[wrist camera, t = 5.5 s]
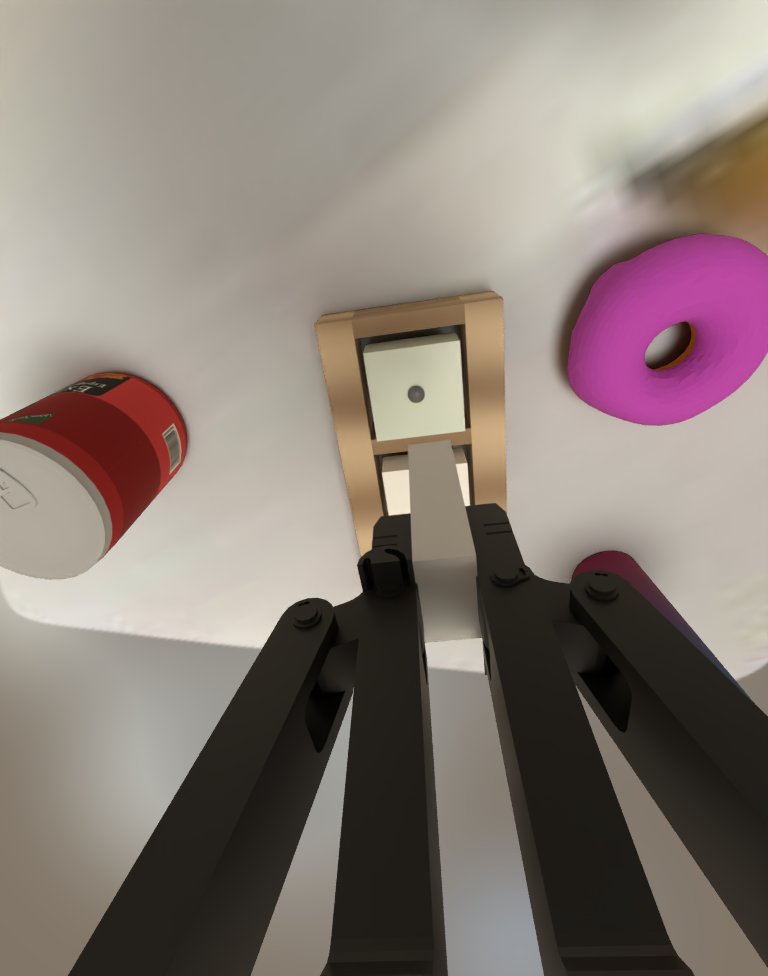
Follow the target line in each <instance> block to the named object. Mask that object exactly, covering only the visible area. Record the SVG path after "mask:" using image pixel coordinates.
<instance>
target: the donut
mask: <svg viewBox="0 0 768 976" xmlns="http://www.w3.org/2000/svg"><path fill="white" fill-rule="evenodd" d="M685 321H686V322H687V323H688V324H689V326H690V329H691V340H690V343H689V345H688V347H687V349H686V350H685V352H684V353H682V354H681V355H680V356H679V357H678V358H677V359H676V360H674V361H673V362H671V363H669V364H668V365H666V366H663V367H660V368H658V369H650V368H648V367H647V366H646V363H645V352H646V350H647V348H648V346H649V345H650V343H651V342H652V340H653V339H654V338H655V337H656V336H657V335H658V334H659V333H661V332H662V331H663V330H665V329H667V328H668V327H670V326H672V325H674V324H677V323H680V322H685ZM767 353H768V256H767V255H766V254H765V253H764V252H762V251H761V250H760V249H759V248H757V247H756V246H754V245H752V244H751V243H749V242H747V241H744V240H742V239H739V238H735V237H730V236H720V235H709V234H695V235H690V236H685V237H681V238H677V239H674V240H671V241H668V242H665V243H662V244H660V245H658V246H656V247H653V248H651V249H649V250H647V251H645V252H644V253H642V254H640V255H638V256H636V257H635V258H633V259H631V260H629V261H625V262H621V263H617V264H615V265H613V266H612V267H611V268H609V269H608V270H607V271H606V272H605V273H604V274H603V275H601V276H600V277H599V278H598V279H597V280H596V282H595V283H594V285H593V286H592V288H591V291H590V294H589V297H588V299H587V301H586V303H585V305H584V307H583V309H582V311H581V313H580V316H579V318H578V320H577V323H576V325H575V327H574V329H573V330H572V334H571V344H570V349H569V356H568V379H569V383H570V385H571V388H572V389H573V391H574V392H575V394H576V395H577V396H578V397H579V398H580V399H581V400H583V401H584V402H585V403H587V404H588V405H590V406H592V407H594V408H596V409H598V410H599V411H601V412H604V413H606V414H608V415H611V416H613V417H616V418H619V419H622V420H625V421H629V422H632V423H637V424H642V425H657V426H660V425H669V424H674V423H679V422H682V421H685V420H687V419H690V418H692V417H694V416H696V415H698V414H700V413H702V412H704V411H706V410H707V409H709V408H711V407H712V406H714V405H716V404H717V403H719V402H721V401H722V400H724V399H725V398H726V397H728V396H729V395H731V394H732V393H733V392H735V391H736V390H737V389H738V388H739V387H740V386H741V385H742V384H743V383H745V382H746V381H747V380H748V379H749V378H750V376H751V375H752V374H753V373H754V372H755V370H756V369H757V368H758V367H759V365H760V364H761V362H762V361H763V359H764V358H765V356H766V354H767Z"/></svg>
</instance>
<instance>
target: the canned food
mask: <svg viewBox="0 0 768 976" xmlns="http://www.w3.org/2000/svg"><path fill="white" fill-rule="evenodd" d="M186 447H187V434H186V429H185V426H184V422H183V420H182V418H181V416H180V414H179V412H178V410H177V409H176V407H175V406H174V405H173V403H172V402H171V401H170V400H169V399H168V398H167V397H166V396H165V395H164V394H163V393H162V392H161V391H160V390H159V389H157V388H156V387H154V386H153V385H152V384H150V383H148V382H146V381H144V380H142V379H140V378H137V377H134V376H131V375H126V374H119V373H102V374H95V375H92V376H89V377H86V378H84V379H82V380H80V381H78V382H76V383H74V384H72V385H70V386H68V387H66V388H64V389H62V390H60V391H58V392H56V393H54V394H52V395H50V396H48V397H45V398H43V399H41V400H39V401H37V402H35V403H33V404H31V405H29V406H27V407H25V408H23V409H21V410H19V411H17V412H15V413H13V414H11V415H9V416H7V417H5V418H3V419H1V420H0V566H2V567H4V568H6V569H9V570H11V571H14V572H16V573H19V574H22V575H26V576H30V577H34V578H41V579H49V580H52V579H66V578H71V577H75V576H78V575H80V574H82V573H84V572H86V571H88V570H89V569H90V568H91V567H93V566H94V565H95V564H96V563H97V562H98V561H100V560H101V559H102V558H103V557H104V556H105V555H106V553H107V552H108V551H109V550H110V549H111V548H112V547H113V546H114V545H115V544H116V543H117V542H118V540H119V539H120V538H121V537H122V536H123V535H124V533H125V532H126V531H127V530H128V529H129V528H130V526H131V525H132V524H133V523H134V522H135V521H136V519H137V518H138V517H139V516H140V515H141V514H142V512H143V511H144V510H145V509H146V508H147V507H148V505H149V504H150V503H151V502H152V501H153V500H154V499H155V497H156V496H157V495H158V494H159V493H160V492H161V490H162V489H163V488H164V487H165V486H166V485H167V483H168V482H169V481H170V480H171V479H172V478H173V476H174V475H175V474H176V473H177V472H178V470H179V469H180V467H181V466H182V463H183V461H184V458H185V454H186Z"/></svg>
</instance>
